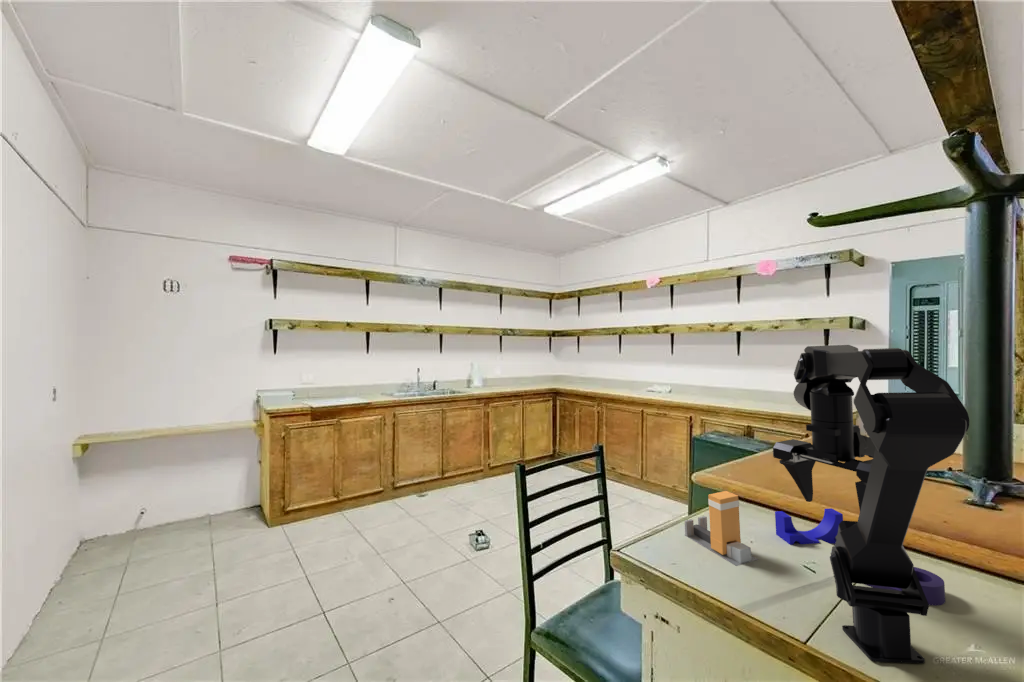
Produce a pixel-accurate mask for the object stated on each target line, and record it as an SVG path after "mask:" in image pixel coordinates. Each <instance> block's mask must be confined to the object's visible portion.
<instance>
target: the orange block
mask: <svg viewBox="0 0 1024 682" xmlns="http://www.w3.org/2000/svg"><path fill="white" fill-rule="evenodd" d="M707 500H708V501H707V503H708V511H709V513H708V514H709V531H710V535H711V537H710V538H711V548H712V549H714V550H715V551H717V552H719V553H720V554H722V555H724V554H727V545H726V544H727V542H731V543H734V542H740V543H742V541H741V540H742V538H741V525H740V524H741V522H740V521H741V520H740V501H739V495H738V494H735V493H732V492H731V491H727V490H723V491H718V492H714V493H710V494H708V499H707Z"/></svg>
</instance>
